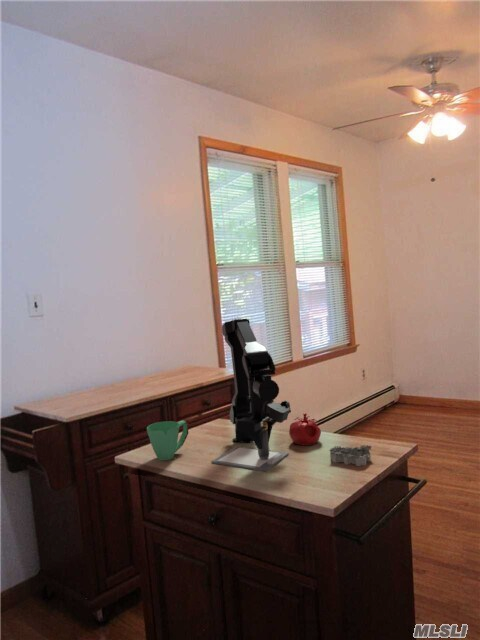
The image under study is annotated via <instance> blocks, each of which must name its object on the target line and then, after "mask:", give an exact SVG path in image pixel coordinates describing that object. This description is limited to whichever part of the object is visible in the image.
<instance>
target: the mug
mask: <svg viewBox="0 0 480 640" xmlns="http://www.w3.org/2000/svg"><path fill="white" fill-rule="evenodd" d="M180 427H182V432H181V435H180V437H179V432H180ZM146 433H147V435H148V438H149V441H150V444H151V447H152V450H153V452H154V454H155V456H156V457H157V460H158V459H159V460H158V461H169V460H172V459H173V458H174V457H175V454H176V452H177V451H178V450H180V449H181V448H182V446H183V445H184V443H185V442H186V439H187V437H188V435H189V424H188V423H187V422H186V420H180V421H172V420H171V421H167V420H166V421H160V422H154V423H152V424H149V425H148V426H147V427H146Z"/></svg>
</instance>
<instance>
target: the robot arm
mask: <svg viewBox="0 0 480 640" xmlns="http://www.w3.org/2000/svg"><path fill="white" fill-rule="evenodd" d="M221 333H222V336H224V341H225V343H226V344H227V346H229V348H230V353H231V363H232V370H233V371H232V373H233V381H234V389H235V392H234V395H233V397H232V399H231V406H230V411H229V420H230V422H231V423H232V425H234V432H235V437H234V438H233V439H232V440H231V441H232V442H239V443H245V444H248V443H252V442H253V443H254V445H255V446H256V449H262V442H263V431H264V430H265V429H266V427H264V426H263V422H267V424H268V442H270V438H271V433H272V430H273V427H274V425H275V424H276V423H279V424H281V423H283V422H284V421H287V420H288V418H289V417H288V416H289V414H291V412H292V410H291V405H290V401H288V400H283V401H281V402H279V401H278V402H275V400H276V398H277V397H278V396H279V393H280V387H279V384H278V383H277V382H276V381H275V380H273V379H272V375H273V376H274V375H276V365H275V363H274V361H273V357H272V356H271V353H270V352H268V350H267V348H266V347H265V346H264V345H262V344H261V343H259V342H258V340H257V338H256V336H255V334H254V332H253V329H252V327H251V325H250V320H249V318H247V317H237V318H234V319H232V320H229V321H228V320H227V321H225V322H224V323H223V324H222V326H221Z"/></svg>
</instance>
